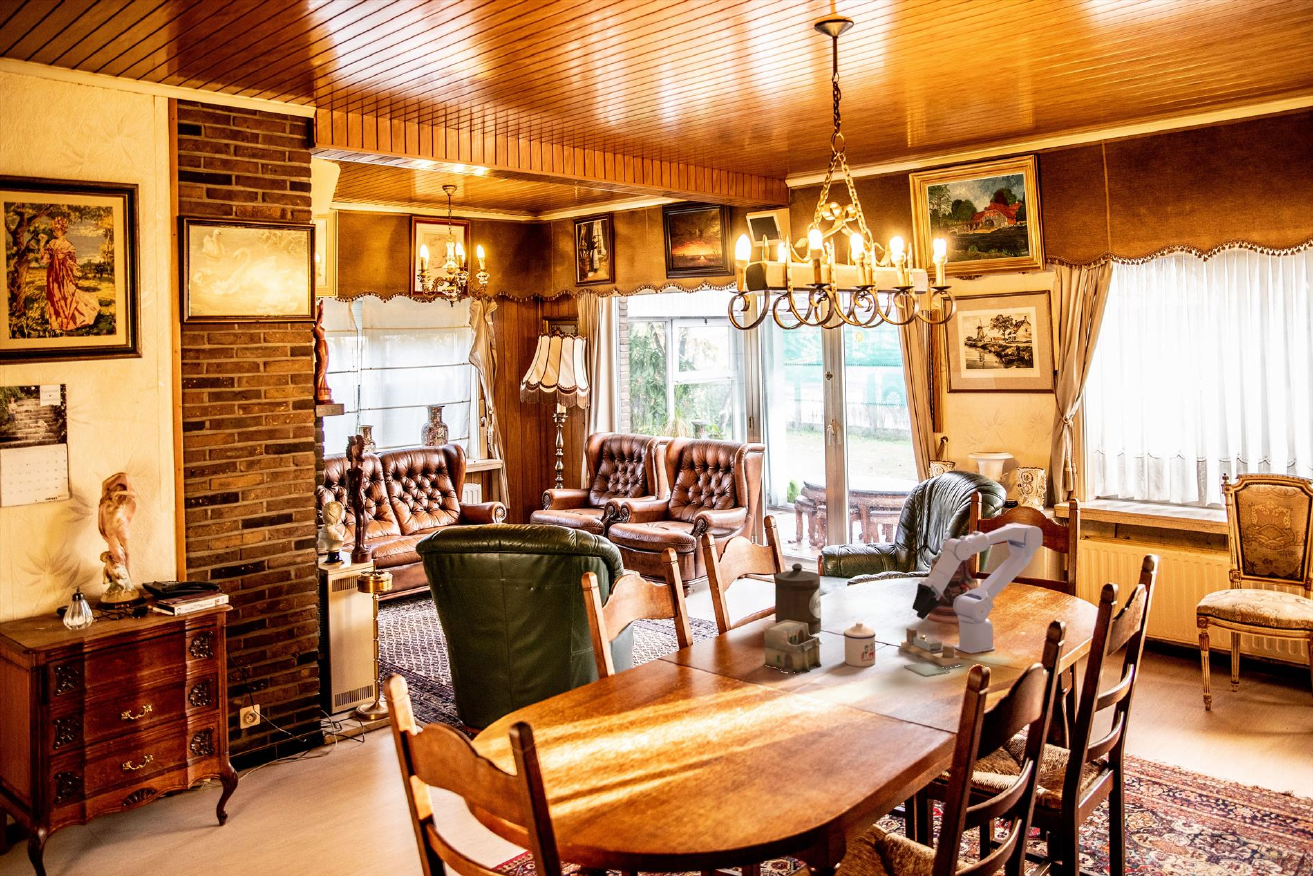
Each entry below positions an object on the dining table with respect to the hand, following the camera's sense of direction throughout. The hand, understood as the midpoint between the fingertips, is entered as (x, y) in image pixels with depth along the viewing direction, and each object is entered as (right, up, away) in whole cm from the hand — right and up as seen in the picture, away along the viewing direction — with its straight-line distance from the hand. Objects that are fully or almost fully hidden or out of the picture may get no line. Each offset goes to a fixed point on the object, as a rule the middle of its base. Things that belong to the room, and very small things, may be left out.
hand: (917, 614), depth 287 cm
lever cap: (+3, -10, +2) cm, 11 cm away
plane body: (+4, -13, +1) cm, 14 cm away
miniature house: (-37, -15, -2) cm, 40 cm away
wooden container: (-30, -12, +36) cm, 48 cm away
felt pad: (0, -14, -10) cm, 17 cm away
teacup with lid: (-16, -14, 0) cm, 21 cm away
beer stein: (+23, -10, +43) cm, 50 cm away
